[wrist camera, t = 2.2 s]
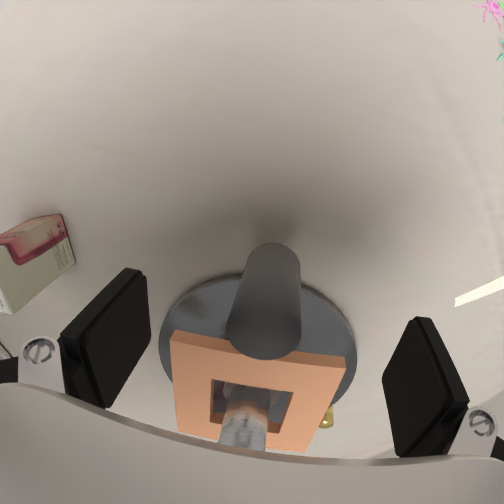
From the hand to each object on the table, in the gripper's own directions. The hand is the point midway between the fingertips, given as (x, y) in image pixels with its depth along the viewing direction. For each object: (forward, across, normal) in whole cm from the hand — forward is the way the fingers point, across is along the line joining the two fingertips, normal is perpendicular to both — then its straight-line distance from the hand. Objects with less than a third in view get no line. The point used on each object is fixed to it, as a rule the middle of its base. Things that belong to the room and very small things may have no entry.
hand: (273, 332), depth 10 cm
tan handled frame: (+7, 0, +8) cm, 11 cm away
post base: (+9, 0, +10) cm, 14 cm away
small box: (+9, +18, +3) cm, 21 cm away
